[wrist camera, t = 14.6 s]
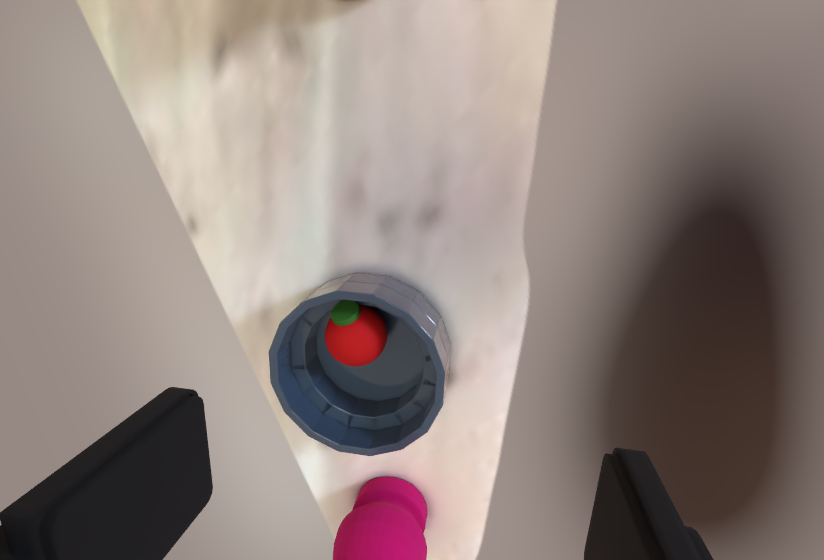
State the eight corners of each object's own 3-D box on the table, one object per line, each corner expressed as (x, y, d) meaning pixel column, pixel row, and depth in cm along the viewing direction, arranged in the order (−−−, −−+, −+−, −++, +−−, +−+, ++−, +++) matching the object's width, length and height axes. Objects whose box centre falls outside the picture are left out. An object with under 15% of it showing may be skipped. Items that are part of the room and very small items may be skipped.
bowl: (296, 265, 33) (264, 283, 29) (456, 278, 32) (450, 301, 27) (301, 404, 37) (273, 441, 32) (445, 424, 35) (438, 466, 30)
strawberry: (350, 329, 35) (329, 286, 32) (401, 333, 33) (384, 288, 30) (328, 376, 32) (302, 333, 29) (383, 382, 30) (361, 337, 27)
